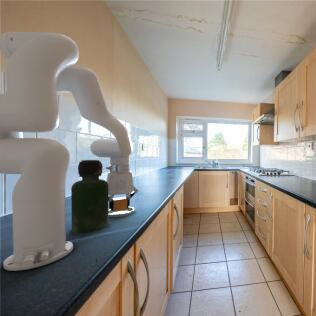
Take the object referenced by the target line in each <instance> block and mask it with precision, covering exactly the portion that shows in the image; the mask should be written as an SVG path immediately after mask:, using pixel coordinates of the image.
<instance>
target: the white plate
mask: <svg viewBox="0 0 316 316" xmlns="http://www.w3.org/2000/svg"><path fill="white" fill-rule="evenodd" d="M134 212H135V207H133V206H128V209H127V210H123V211H116V212H114V211H111V209H108V218H119V217H125V216H128V215H132V214H133V213H134Z"/></svg>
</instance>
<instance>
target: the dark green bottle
mask: <svg viewBox="0 0 316 316" xmlns="http://www.w3.org/2000/svg"><path fill="white" fill-rule="evenodd" d="M103 167H104V166H103V163H102V161H100V160H99V159H81V160H80V161H79V163H78V165H77V174H78V177H79V178H81V179H80V180H77V181H75V182H74V183H73V184H72V185H71V187H70V191H71V193H70V197H71V198H70V200H71V203H70V205H71V208H70V209H71V233H73V234H78V235H80V234H81V235H83V234H90V233H94V232H98V231H101V230H103V229H105V228H107V227H108V226H109V217H108V210H109V201H108V197H109V195H108V183H107V182H106V181H107V180H105V179H101V178H100V177H101V176H102V174H103Z"/></svg>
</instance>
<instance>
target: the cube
mask: <svg viewBox="0 0 316 316" xmlns="http://www.w3.org/2000/svg"><path fill="white" fill-rule="evenodd" d="M113 202H114V204H113V211H114V212H116V211H123V210H127V198H126V196H122V197H119V196H118V197H113Z"/></svg>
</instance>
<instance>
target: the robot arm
mask: <svg viewBox="0 0 316 316" xmlns="http://www.w3.org/2000/svg"><path fill="white" fill-rule="evenodd" d="M0 52H1V53H2V55H3V57H5V58H6V59H7V60H8V61H7V63H6V67H5V84H6V92H5V93H0V174H3V175H4V174H5V175H20V176H19V178H18V180H17V181H16V183H15V184H14V186H13V189H12V193H11V204H12V205H11V206H12V208H11V209H12V254H11V255H9V256H7V257H6V258H5V260H3V264H2V268H3V270H6V271H9V272H10V271H12V272H14V271H15V272H18V271H25V270H33V269H35V268H40V267H43V266H46V265H49V264H52V263H54V262H57V261H58V260H60V259H63V258H64V257H66V256H68V255H69V254H71V252H72V251H73V249H74V244H73V242H71V241H69V240H67V235H66V234H67V231H66V229H67V227H66V225H67V224H66V223H67V222H66V217H67V215H66V182H67V181H66V179H67V173H68V169H69V166H70V161H71V153H70V150H69V149H68V147H67V145H65V144H64V143H62V142H61V141H58V140H55V139H52V138H45V137H24V135H23V133H32V134H34V133H35V134H37V133H38V134H39V133H49V132H53V131H54V130H56V129H57V128H58V127H59V124H60V113H59V112H60V110H59V99H58V93H71V94H72V97H73V99H74V101H75V104H76V106H77V108H78V110H79V113H80V116H81V117H82V118H83V119H85V120H87V121H89V122H90V123H93V124H95V125H97V126H100V127H102V128H104V129H106V130H107V131H108V132H110V133H111V134H112V135H113V137H114V138H99V139H95V140H94V141H92V142H91V144H90V147H89V149H90V152H91V154H92V155H94V156H96V157H98V158H107V159H108V158H109V165H106V166H105V170H109V171H108V172H107V176H106V180H105V181H106V182H107V183H108V210H110V209H111V211H113V204H114V202H113V198H115V196H119V195H125V197H126V198H127V209H128V207H131V199H132V198H133V197H134V196H135V195H136V194H137V193H138V192H139V190H138V189H137V187H135V186H134V175H133V171H131V155H132V153H133V143H132V140H131V136H130V133H129V131H128V129H127V127H125V124H123V123H122V122H121V121H120V120H119V119H118V118H117V117H115V116H114V115H113V114H112V113H111V112H110V109H109V106H108V104H107V101H106V97H105V95H104V92H103V88H102V85H101V83H100V79H99V77H98V75H97V73H96V72H95V71H94V70H93V69H91V68H89V67H86V66H82V65H75V64H76V63H77V62H78V60H79V58H80V50H79V47H78V45H77V43H76V42H75V40H73V39H72V38H71V37H69V36H67V35H65V34H63V33H59V32H47V31H46V32H44V31H6V32H3V33H1V34H0Z"/></svg>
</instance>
